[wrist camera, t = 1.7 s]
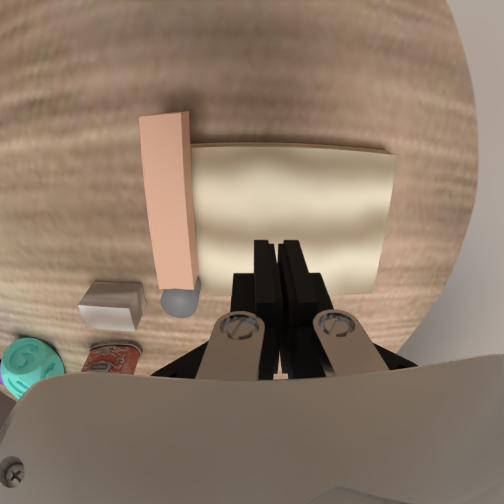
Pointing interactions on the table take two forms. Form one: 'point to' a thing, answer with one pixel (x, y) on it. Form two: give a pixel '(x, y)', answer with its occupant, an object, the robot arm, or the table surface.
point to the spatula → (1, 377)
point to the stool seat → (273, 219)
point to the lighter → (113, 357)
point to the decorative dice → (28, 364)
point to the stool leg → (171, 209)
